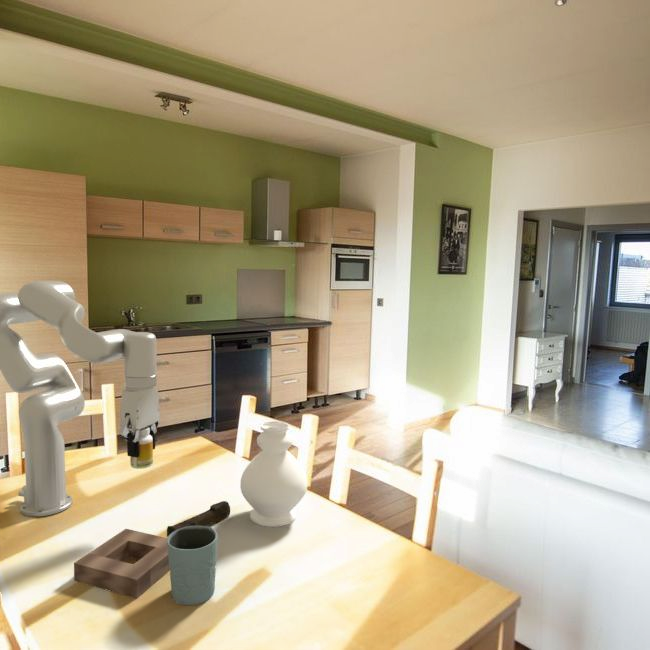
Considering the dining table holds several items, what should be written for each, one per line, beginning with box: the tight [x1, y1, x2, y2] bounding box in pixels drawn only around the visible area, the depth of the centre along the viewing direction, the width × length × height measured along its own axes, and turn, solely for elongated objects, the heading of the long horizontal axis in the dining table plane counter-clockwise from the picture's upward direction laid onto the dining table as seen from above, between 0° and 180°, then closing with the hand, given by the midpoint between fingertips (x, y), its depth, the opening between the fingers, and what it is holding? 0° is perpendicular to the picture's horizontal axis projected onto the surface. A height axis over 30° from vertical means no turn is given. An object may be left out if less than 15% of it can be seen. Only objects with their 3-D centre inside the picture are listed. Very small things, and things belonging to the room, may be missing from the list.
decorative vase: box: [240, 420, 308, 528], centre depth 144 cm, size 18×18×25 cm
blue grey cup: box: [166, 526, 219, 606], centre depth 110 cm, size 10×10×12 cm
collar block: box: [73, 528, 170, 599], centre depth 118 cm, size 16×16×4 cm
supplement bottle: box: [129, 426, 154, 470], centre depth 136 cm, size 5×5×10 cm
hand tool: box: [166, 500, 231, 538], centre depth 137 cm, size 19×4×5 cm, turn 139°
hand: (141, 451), depth 137 cm, fingers closed on supplement bottle, 5 cm apart
